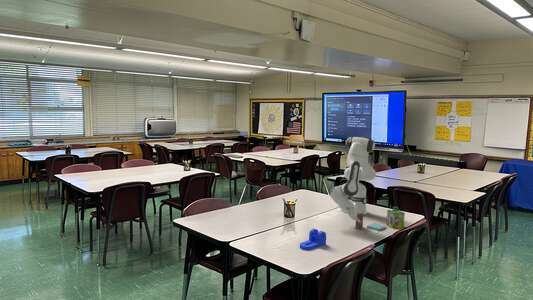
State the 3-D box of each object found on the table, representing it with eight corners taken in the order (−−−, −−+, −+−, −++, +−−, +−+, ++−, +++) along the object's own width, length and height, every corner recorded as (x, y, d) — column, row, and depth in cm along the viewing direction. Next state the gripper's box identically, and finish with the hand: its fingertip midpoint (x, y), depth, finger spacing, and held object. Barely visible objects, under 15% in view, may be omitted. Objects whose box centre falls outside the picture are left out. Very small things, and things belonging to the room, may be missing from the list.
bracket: (316, 240, 229) (316, 227, 228) (326, 244, 223) (326, 230, 222) (296, 247, 217) (297, 233, 216) (306, 251, 211) (307, 236, 210)
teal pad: (366, 227, 258) (366, 225, 257) (373, 225, 264) (373, 223, 264) (379, 230, 250) (379, 228, 250) (386, 228, 257) (386, 226, 257)
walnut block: (355, 228, 255) (356, 214, 254) (355, 226, 260) (355, 212, 259) (362, 229, 254) (363, 214, 253) (362, 227, 258) (363, 212, 257)
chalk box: (393, 228, 256) (394, 208, 255) (386, 225, 265) (386, 205, 264) (404, 227, 259) (405, 208, 257) (396, 224, 267) (397, 205, 266)
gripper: (349, 206, 247) (363, 221, 245) (350, 200, 266) (363, 213, 265) (343, 212, 248) (356, 227, 247) (343, 205, 268) (356, 219, 266)
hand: (360, 220), depth 256 cm, fingers open, 8 cm apart
